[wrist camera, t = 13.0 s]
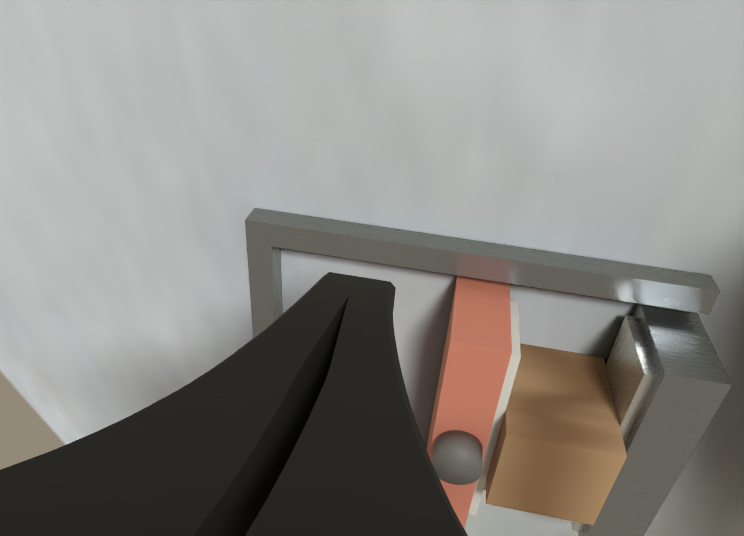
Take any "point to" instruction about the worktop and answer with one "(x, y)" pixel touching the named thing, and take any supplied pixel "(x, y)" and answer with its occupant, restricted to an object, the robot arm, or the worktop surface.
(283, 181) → the worktop surface
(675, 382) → the vise body
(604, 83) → the worktop surface
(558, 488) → the walnut block
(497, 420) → the free jaw
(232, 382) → the robot arm
